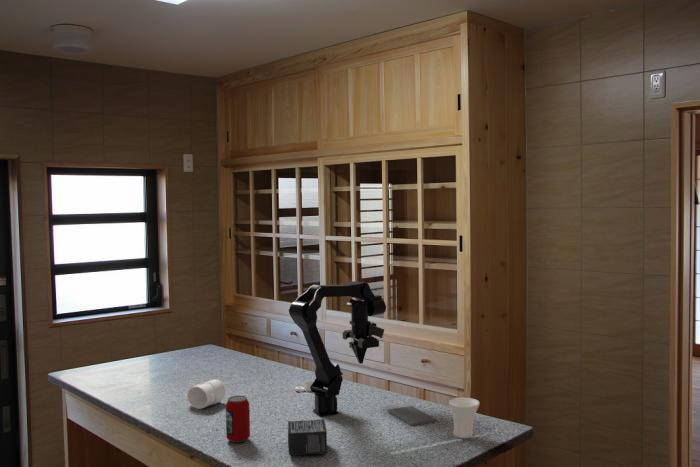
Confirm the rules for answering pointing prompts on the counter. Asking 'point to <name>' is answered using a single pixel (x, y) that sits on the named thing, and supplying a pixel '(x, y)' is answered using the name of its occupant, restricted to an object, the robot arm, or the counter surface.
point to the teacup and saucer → (307, 386)
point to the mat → (411, 415)
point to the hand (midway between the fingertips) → (360, 363)
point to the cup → (463, 416)
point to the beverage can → (237, 419)
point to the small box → (307, 437)
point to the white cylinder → (206, 394)
